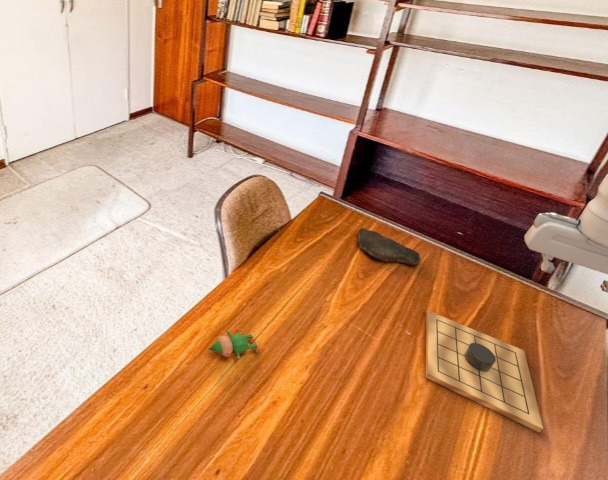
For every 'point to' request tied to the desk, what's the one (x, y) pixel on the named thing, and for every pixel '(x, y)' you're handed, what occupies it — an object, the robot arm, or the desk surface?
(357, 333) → the desk surface
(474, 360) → the game stone
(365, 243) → the stone
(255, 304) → the desk surface
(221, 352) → the figurine
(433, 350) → the go board
